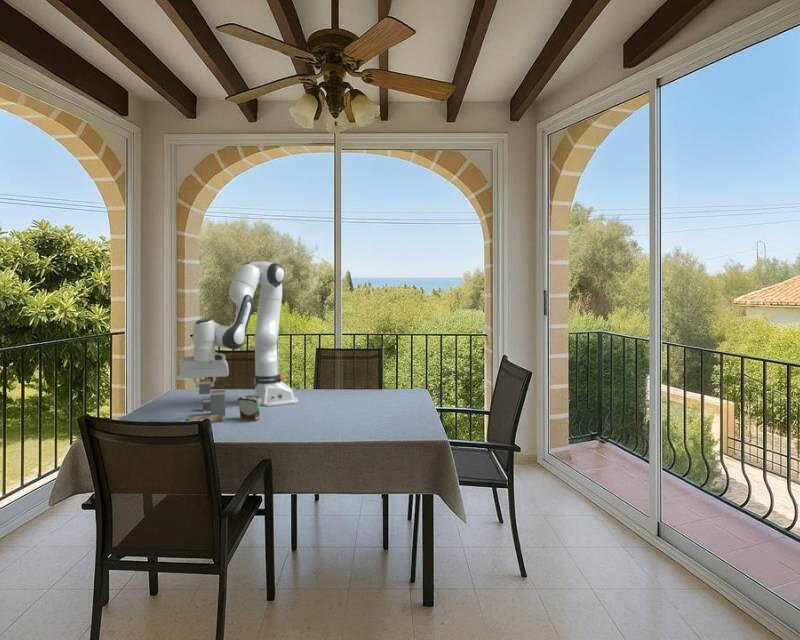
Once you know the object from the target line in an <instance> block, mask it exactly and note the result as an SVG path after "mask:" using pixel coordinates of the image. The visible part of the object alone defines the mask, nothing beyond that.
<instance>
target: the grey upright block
mask: <svg viewBox="0 0 800 640" xmlns="http://www.w3.org/2000/svg"><path fill="white" fill-rule="evenodd" d="M210 397H211V411H210V415H217V414H223V417H225V416H226V390H225V389H210Z"/></svg>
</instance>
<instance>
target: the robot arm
mask: <svg viewBox="0 0 800 640" xmlns="http://www.w3.org/2000/svg"><path fill="white" fill-rule="evenodd" d="M285 276H286V273H285V269H284V267H283V265H281V264H279V263H276V262H270V261H265V260H264V261H254V260H251V261H250V260H249V261H247V262H245V263H244V264H243V265H242V266H241V267H240V269H238V271H237V273H236V274H235V276H234V278H233V279H232V282H231V284H230V285H229V288H228V289H229V290H228V296H229V299H230V300H231V301H232V302H233V303H235V304H236V306H237V312H236V316H235V318H234V321H233V324H231V325H230V326H228V325H222V324H219V323H217V322H215V321H214V319H212V318H202V319H199V320H196V321H195V322H194V324H193V335H192V337H193V355H192V356H182V357H180V358H179V360H178V366H179V368H180V369H179V378H181V379H192V381H193V383H194V384H195V388H196V389H199V382H197V379H198V378H199V379H203V378H212V382H210V388H214V387H215V386H214V383H215V382H216V380H217V378H219V377H220V378H221V377H222V378H223V377H224V378H225V377H228V376H229V375H230V374H229V373H230V372H229V371H230V370H229V365H228V361H227V360H226V354H224V353H221V352H218V351H216V348H217V347H218V348H223V349H230V350H238V349H240V348H242V347H243V345H244V344H245V342H246V338H247V337H246V336H247V329H248V325H249V322H250V319H251V317H252V316H251V315H252V313H253V309H254V295H255V292H256V290H257V288H258V285H261V287H260V293H259V299H258V306H257V308H258V309H257V314H256V326H255V333H254V360H255V361H254V366H255V367H254V370H255V374H254V378H253V380H254V387H255V389H254V395H257V396H260V398H261V400H262V402H261V403H260V406H265V407H271V406H273V407H274V406H279V405H280V406H282V405H290V404H296V403H298V402H299V398H298V397H297V396H295V394H294V391H293V389H292V387H291V386H289V385H288V384H286V383H285V382H283V381H284V375H281V374H279V369H278V368H279V366H278V365H279V364H278V361H279V359H278V357H279V356H278V338H279V331H280V318H281V311H282V310H281V308H282V302H283V300H282V299H283V281H284V280H285Z"/></svg>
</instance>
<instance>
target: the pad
mask: <svg viewBox="0 0 800 640" xmlns="http://www.w3.org/2000/svg"><path fill="white" fill-rule="evenodd" d="M204 418H210V419H211V422H212V423H211V424H214V423H223V418H224V416H223V414H217V415H211V414H206V415H205V414H204V415H203V414H202V415H191V416H189V417H188V420H187V422H188V421H194V420H202V419H204Z"/></svg>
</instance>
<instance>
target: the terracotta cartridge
mask: <svg viewBox="0 0 800 640" xmlns="http://www.w3.org/2000/svg"><path fill="white" fill-rule="evenodd" d="M198 383H199V388H198V393H199V395H211V387H210V383H211V378H199V380H198Z"/></svg>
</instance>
